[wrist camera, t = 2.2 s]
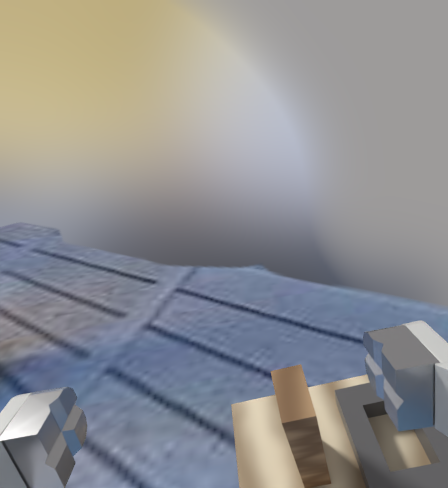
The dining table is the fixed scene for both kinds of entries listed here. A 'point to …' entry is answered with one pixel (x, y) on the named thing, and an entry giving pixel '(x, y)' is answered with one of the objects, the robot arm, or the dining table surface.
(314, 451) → the walnut slat
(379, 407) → the rectangular frame
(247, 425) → the birch board
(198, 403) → the dining table surface
